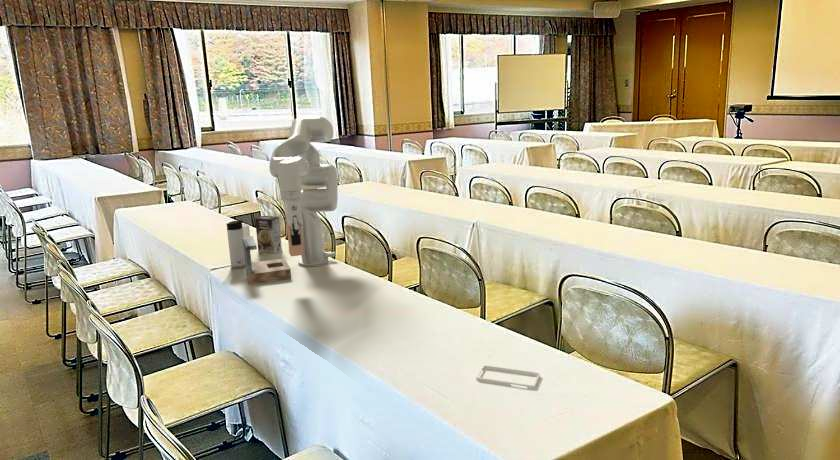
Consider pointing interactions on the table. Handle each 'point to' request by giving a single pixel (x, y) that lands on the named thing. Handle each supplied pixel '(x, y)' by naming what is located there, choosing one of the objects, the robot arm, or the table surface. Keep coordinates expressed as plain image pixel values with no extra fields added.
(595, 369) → the table surface
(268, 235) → the coffee box
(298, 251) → the peg
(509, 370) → the rectangular ring
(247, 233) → the drinking glass
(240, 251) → the travel mug
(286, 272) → the socket block
